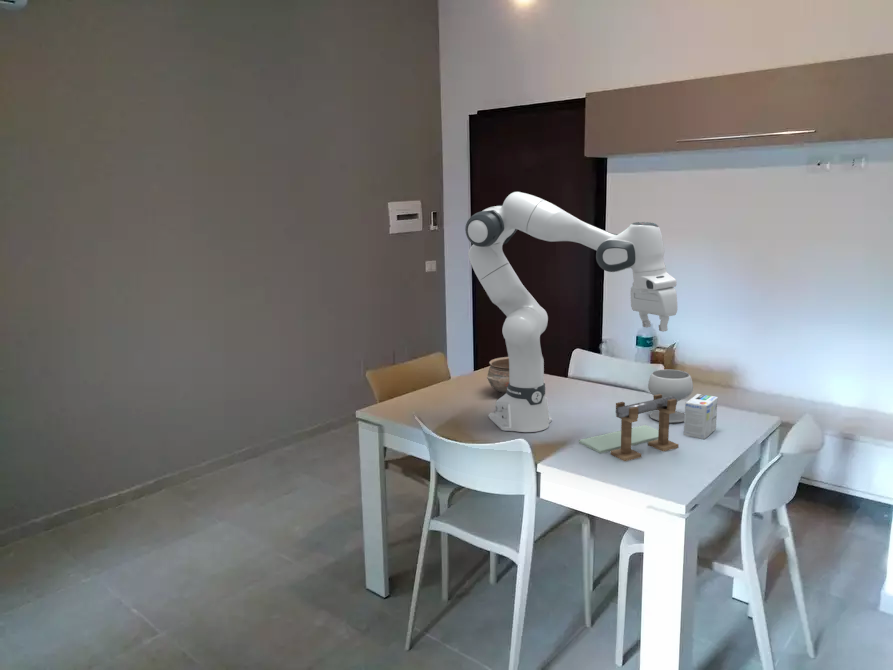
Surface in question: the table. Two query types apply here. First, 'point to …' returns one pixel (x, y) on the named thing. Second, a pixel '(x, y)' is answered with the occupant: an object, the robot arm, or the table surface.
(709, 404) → the light bulb box
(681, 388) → the chalice
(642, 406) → the rail
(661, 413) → the hook stands
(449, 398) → the table surface
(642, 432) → the mat
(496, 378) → the cooking pot
